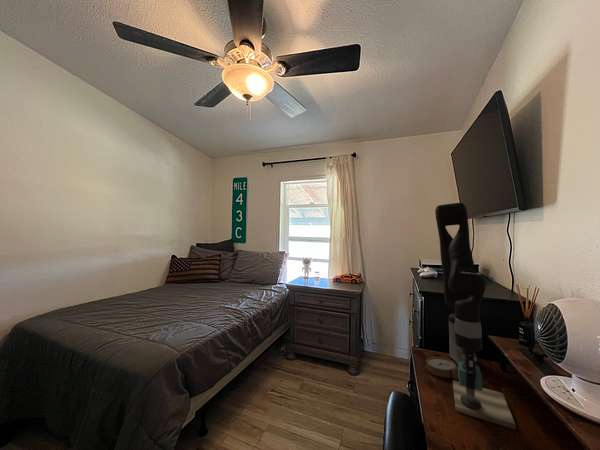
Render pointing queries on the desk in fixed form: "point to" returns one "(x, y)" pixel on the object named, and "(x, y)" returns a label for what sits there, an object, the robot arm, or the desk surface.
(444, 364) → the alarm clock
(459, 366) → the teal square frame
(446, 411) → the desk surface
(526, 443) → the desk surface
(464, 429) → the desk surface
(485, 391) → the post board
